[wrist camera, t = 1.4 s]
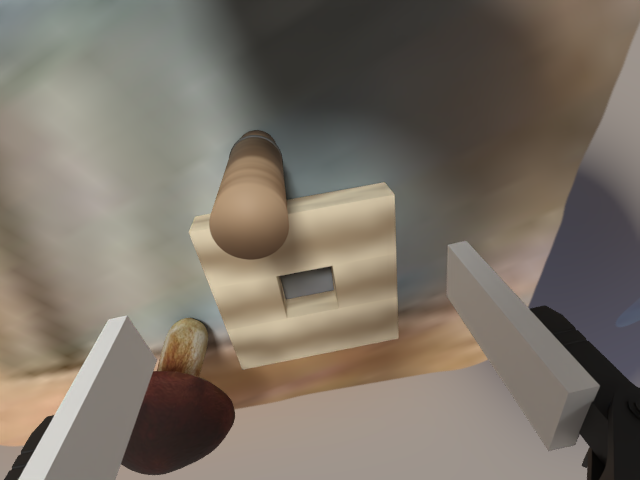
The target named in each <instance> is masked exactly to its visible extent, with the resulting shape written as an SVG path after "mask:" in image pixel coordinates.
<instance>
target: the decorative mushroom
mask: <svg viewBox="0 0 640 480" xmlns="http://www.w3.org/2000/svg"><path fill="white" fill-rule="evenodd" d="M207 344H208V333H207V330H206V327H205V326H204V325H203V324H202V323H201V322H200V321H198V320H195V319H192V318H185V319H181V320H180V321H178V322H176V323H175V324H174V325H173V326H172V327H171V329H170V330H169V332H168V334H167V336H166V339H165V342H164V345H163V349H162V353H161V356H160V360H159V364H158V369H157V371H153V373H152V376H151V379H150V382H149V384H148V387H147V390H146V393H145V396H144V399H143V402H142V405H141V407H140V410H139V413H138V416H137V419H136V422H135V425H134V428H133V430H132V433H131V436H130V439H129V442H128V445H127V448H126V451H125V453H124V456H123V459H122V462H121V464H122V465H123V466H125V467H127V468H128V469H130V470H132V471H135V472H138V473H141V474H148V475H161V474H166V473H169V472H172V471H175V470H178V469H180V468H183V467H185V466H187V465H189V464H191V463H193V462H196V461H198V460H199V459H201V458H203V457H205V456H206V455H208V454H209V453H211V452H212V451H213V450H214V449H215V448H216V447H217V446H219V444H220V443H221V442H222V440H223V439H224V438H225V437H226V435H227V434H228V432H229V430H230V429H231V427H232V425H233V423H234V419H235V411H234V407H233V403H232V401H231V399H230V398H229V397H228V396H227V395H226V394H225V393H224V392H223V391H222V390H221V389H219V388H218V387H216V386H215V385H213V384H212V383H210V382H208V381H206V380H205V379H202V378H200V377H198V376H199V374H200V371H201V367H202V364H203V361H204V357H205V353H206V349H207Z"/></svg>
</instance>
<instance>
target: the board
mask: <svg viewBox="0 0 640 480" xmlns="http://www.w3.org/2000/svg"><path fill="white" fill-rule="evenodd" d="M287 210H288V219H289V232H288V236H287V238H286V240H285V242H284V244H283V245H282V246H281V247H280V248H279V249H278V250H277V251H276V252H274V253H273V254H271V255H269V256H267V257H264V258H261V259H254V260H247V259H240V258H237V257H234V256H231V255H229V254H228V253H226V252H225V251H223V250H222V249H221V248H220V247H219V246H218V245H217V244H216V243H215V241H214V239H213V238H212V235H211V232H210V228H209V220H210V215H211V214H207V215H201V216H196V217H195V218H194V221H193V223H192V225H191V228H190V230H189V234H190V237H191V239H192V242H193V244H194V247H195V250H196V252H197V255H198V257H199V260H200V262H201V265H202V267H203V270H204V273H205V275H206V278H207V280H208V283H209V285H210V288H211V291H212V293H213V296H214V298H215V301H216V303H217V306H218V309H219V311H220V314H221V316H222V319H223V321H224V324H225V326H226V329H227V332H228V334H229V337H230V339H231V342H232V344H233V347H234V350H235V352H236V355H237V357H238V360H239V362H240V365H241V368H242V370H244V369H249V368H254V367H259V366H264V365H269V364H274V363H279V362H284V361H289V360H294V359H299V358H304V357H309V356H314V355H319V354H324V353H329V352H334V351H339V350H344V349H349V348H354V347H359V346H364V345H369V344H374V343H379V342H384V341H389V340H394V339H399V337H398V301H397V265H396V228H395V194H394V193H393V192H392V191H391V189H390V188H389V187H388V186H387V185H386V183H385V182H383V183H378V184H372V185H367V186H361V187H356V188H350V189H345V190H339V191H334V192H328V193H323V194H317V195H311V196H306V197H300V198H295V199H289V200H287ZM329 266H331V272H332V279H333V285H334V290H333V291H328V292H323V293H318V294H312V295H307V296H302V297H297V298H292V299H287V300H286V299H285V295H284V291H283V287H282V283H281V279H280V276H281V275H287V274H292V273H297V272H302V271H308V270H313V269H318V268H323V267H329Z"/></svg>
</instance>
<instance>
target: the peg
mask: <svg viewBox="0 0 640 480" xmlns="http://www.w3.org/2000/svg"><path fill="white" fill-rule="evenodd" d="M209 228H210V232H211V235H212V238H213V239H214V241H215V243H216V244H217V245H218V246H219V247H220V248H221V249H222V250H223V251H225V252H226V253H228V254H229V255H231V256H234V257H237V258H240V259H247V260H254V259H261V258H264V257H267V256H269V255H271V254H273V253H274V252H276V251H277V250H278V249H279V248H280V247H281V246H282V245H283V244H284V242H285V240H286V238H287V236H288V232H289V219H288V210H287V200H286V191H285V182H284V173H283V159H282V154H281V151H280V149H279V148H278V146H277V145H276V143H275V141H274V139H273V138H272V137H271V136H270V135H269V134H267V133H266V132H263V131H259V130H254V131H249V132H247V133H245V134H244V135H243V136H242V137H241V138H240V139H239V140H238V141H237V142H236V143H235V144H234V146H233V147H232V149H231V152H230V156H229V160H228V163H227V166H226V170H225V173H224V176H223V179H222V182H221V185H220V188H219V191H218V194H217V197H216V200H215V203H214V206H213V209H212V212H211V215H210V220H209Z"/></svg>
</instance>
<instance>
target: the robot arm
mask: <svg viewBox="0 0 640 480" xmlns="http://www.w3.org/2000/svg"><path fill="white" fill-rule="evenodd" d="M447 297H448V299H449V300H450V302H451V303H452V305H453V306H454V308H455V309H456V311H457V312H458V314H459V315H460V317H461V319H462V320H463V322H464V323H465V325H466V326H467V328H468V329H469V331H470V332H471V334H472V335H473V337H474V338H475V340H476V341H477V343H478V344H479V346H480V347H481V349H482V351H483V352H484V354H485V355H486V357H487V358H488V360H489V361H490V363H491V364H492V366H493V367H494V369H495V370H496V372H497V373H498V375H499V376H500V378H501V379H502V381H503V382H504V384H505V386H506V387H507V388H508V390H509V391H510V393H511V395H512V396H513V398H514V399H515V400H516V402H517V404H518V405H519V407H520V408H521V410H522V411H523V413H524V415H525V416H526V417H527V419H528V421H529V422H530V423H531V425H532V427H533V428H534V429H535V431H536V433H537V434H538V436H539V437H540V439H541V440H542V442H543V443H544V445H545V446H546V448H547V449H548V451H551V450H555V449H560V448H564V447H569V446H573V445H575V444H576V442H577V439H578V437H579V434H580V435H581V436H582V437H583V438H584V440H585V441H586V442H587V444H588V445H589V446H590V448H589V449H588V452H587V454H586V456H585V458H584V461H583V463H582V466H583V467H586V468H587V466H588V468H587V480H640V388H638V387H636V386H635V385H634V384H632V383H631V382H630V381H629V380H628V379H627V378H626V377H625V376H624V375H623V374H622V373H621V372H620V371H619V370H618V369H617V368H616V367H615V366H614V365H613V364H612V363H611V362H610V361H609V360H607V358H606V357H605V356H604V355H602V354H601V353H600V352H599V351H598V350H597V349H596V348H595V347H594V346H593V345H592V344H591V343H590V342H589V341H587V340H586V338H585V337H584V336H583V335H582V334H581V333H580V332H579V331H578V330H576V329H575V327H574V326H573V325H572V324H571V323H570V322H569V321H568V320H567V319H566V318H565V317H564V316H563V315H561V314H559V313H558V312H556V311H554V310H552V309H551V308H549V307H547V306H540V307H536V308H531V309H529V308H528V307H527V306H526V305H525V304H524V303H523V302H522V301H521V300H520V298H519V297H518V296H517V295H516V294H515V293H514V292H513V291H512V290H511V289H510V288H509V287H508V285H507V284H506V283H505V282H504V281H503V280H502V279H501V278H500V277H499V276H498V275H497V273H496V272H495V271H494V270H493V269H492V268H491V267H490V266H489V265H488V264H487V263H486V262H485V260H484V259H483V258H482V257H481V256H480V255H479V254H478V253H477V252H476V251H475V250H474V249H473V247H472V246H471V245H470V244H469V243H468V242H467V241H463V242H458V243H454V244H449V245H448V253H447ZM156 362H157V359H156V357H155V356H154V354H153V353H152V351H151V350H150V348H149V347H148V345H147V344H146V343H145V341H144V340H143V338H142V337H141V335H140V334H139V332H138V331H137V329H136V328H135V326H134V325H133V323H132V322H131V320H130V319H129V317H128V316H122V317H118V318H113V319H109V320H108V321H107V323H106V325H105V327H104V328H103V330H102V332H101V334H100V336H99V337H98V339H97V341H96V343H95V344H94V346H93V348H92V350H91V352H90V353H89V355H88V357H87V359H86V360H85V362H84V364H83V366H82V367H81V369H80V371H79V373H78V375H77V376H76V378H75V380H74V382H73V383H72V385H71V387H70V389H69V391H68V392H67V394H66V396H65V398H64V399H63V401H62V403H61V405H60V406H59V408H58V410H57V412H56V414H55V415H53V416H48V417H46V418H45V419H44V421H43V422H42V423H41V424H40V425H39V426H38V427H37V428H36V429H35V430H34V432H33V433H32V434H31V435H30V437H29V439H28V440H27V442H26V444H25V445H24V447H23V449H22V450H21V455H19V456H18V457H17V459H16V461H15V462H14V464H13V466H12V470H11V471H9V472H8V474H7V476H6V478H5V479H4V480H115V479H116V476H117V473H118V471H119V468H120V465H121V462H122V459H123V456H124V453H125V451H126V448H127V445H128V442H129V439H130V436H131V433H132V430H133V428H134V425H135V422H136V419H137V416H138V413H139V410H140V407H141V405H142V402H143V399H144V396H145V393H146V390H147V387H148V384H149V382H150V379H151V376H152V373H153V370H154V367H155V364H156Z"/></svg>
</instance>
